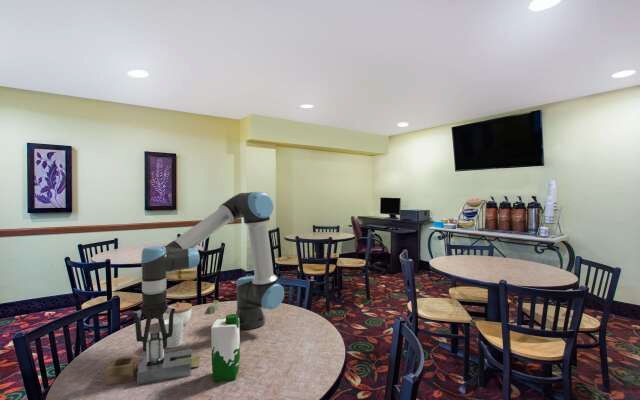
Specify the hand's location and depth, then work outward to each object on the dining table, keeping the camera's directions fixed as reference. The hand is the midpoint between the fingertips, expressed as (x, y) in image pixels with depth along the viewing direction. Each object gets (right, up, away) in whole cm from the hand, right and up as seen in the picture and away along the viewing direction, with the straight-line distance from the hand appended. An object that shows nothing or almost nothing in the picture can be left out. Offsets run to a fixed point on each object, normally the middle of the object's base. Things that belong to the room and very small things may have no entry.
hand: (155, 358), depth 110 cm
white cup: (-4, -6, +23) cm, 24 cm away
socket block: (+2, -5, +1) cm, 6 cm away
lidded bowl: (-12, -6, +44) cm, 46 cm away
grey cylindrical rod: (0, -5, 0) cm, 5 cm away
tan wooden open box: (-10, -5, -2) cm, 12 cm away
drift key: (+10, -5, +3) cm, 11 cm away
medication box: (-1, -6, +65) cm, 66 cm away
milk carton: (+25, -5, -2) cm, 26 cm away
